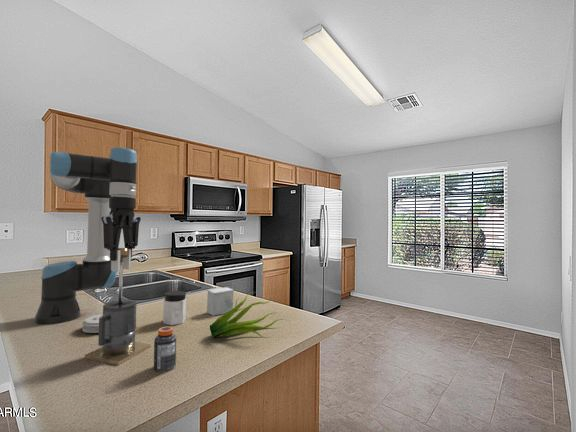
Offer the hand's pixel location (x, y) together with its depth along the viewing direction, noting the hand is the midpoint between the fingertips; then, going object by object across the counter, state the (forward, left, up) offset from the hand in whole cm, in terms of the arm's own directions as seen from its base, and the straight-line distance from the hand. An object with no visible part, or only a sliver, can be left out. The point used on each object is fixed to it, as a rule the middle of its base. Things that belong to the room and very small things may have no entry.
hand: (121, 269), depth 97 cm
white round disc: (-23, +14, -27) cm, 38 cm away
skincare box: (+9, +48, -27) cm, 56 cm away
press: (0, 0, -26) cm, 26 cm away
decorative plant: (+32, +31, -27) cm, 52 cm away
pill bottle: (+20, -3, -27) cm, 34 cm away
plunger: (0, 0, -11) cm, 11 cm away
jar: (-2, +30, -27) cm, 40 cm away
